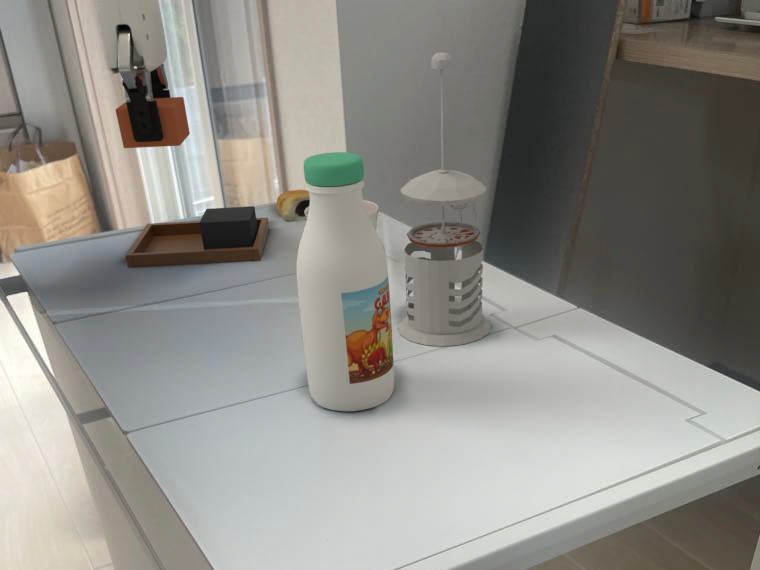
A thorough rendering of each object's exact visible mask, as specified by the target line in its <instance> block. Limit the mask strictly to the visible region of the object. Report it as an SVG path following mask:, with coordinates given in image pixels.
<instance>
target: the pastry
mask: <svg viewBox="0 0 760 570" xmlns="http://www.w3.org/2000/svg"><path fill="white" fill-rule="evenodd" d="M309 205H310V195H309V191H307V190H306V189H295V190H294V189H293V190H287V191H285V192H282V194H281V193H280V195H278V196H277V198H276V206H275V208H276V211H277V212H278V214H279V215H280V217H281V218H282V219H283V220H284V221H285V222H296V221H304V220H306V217H305V213H304V211H305V209H306V208H307V207H309Z"/></svg>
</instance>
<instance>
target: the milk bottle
mask: <svg viewBox="0 0 760 570" xmlns="http://www.w3.org/2000/svg"><path fill="white" fill-rule="evenodd" d="M364 167H365V166H364V160H363V158H362V156H361V155H359V154H357V153H352V152H343V151H333V152H332V151H331V152H322V153H317V154H314V155H310V156H308V157H306V158H305V159H304V160H303V175H304V180H305V185H306V186H305V190H307V191H309V195H310V205H309V212H308V218H307V220H306V221H305V222H306V223H305V226H304V229H303V231H302V235H301V238H300V241H299V246H298V251H297V256H296V284H297V285H296V286H297V298H298V303H299V304H298V305H299V306H298V307H299V313H300V314H299V315H300V324H301V332H302V333H301V334H302V341H303V350H304V358H305V366H306V375H307V383H308V389H309V390H308V392H309V395H310V397H311V398H312V400H313V402H314V403H316V404H317V405H318V406H320V407H322V408H324V409H328V410H331V411H336V412H358V411H364V410H368V409H372V408H375V407H378V406H379V405H382V404H384V403H385V402H386V401H388V400H389V399H390V398H391V396H392V394H393V392H394V390H395V370H394V368H395V367H394V349H393V347H394V346H393V328H392V312H391V310H392V309H391V292H390V282H389V281H390V280H389V269H388V263H387V256H386V253H385V250H384V247H383V244H382V241H381V239H380V237H379V235H378V233H377V230H376V231H375V229H374V227H373V225H372V223H371V221H370V218H369V216H368V214H367V211H366V208H365V205H364V201H363V200H364V197H363V188H364V187H365V182H364V176H365V170H364Z"/></svg>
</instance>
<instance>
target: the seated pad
mask: <svg viewBox="0 0 760 570" xmlns="http://www.w3.org/2000/svg"><path fill="white" fill-rule="evenodd" d="M256 218H257V215H256V207H255V206H254V205H251V206H249V205H248V206H233V207H213V208H205V211H204V212H203V215H202V216H201V219H200V220H199V221H200V222H199V225H200V230H201V236H202V242H203V247H204V250H205V249H224V248H243V247H253V245H254V242H255V239H256V236H257V232H258V228H257V220H256Z"/></svg>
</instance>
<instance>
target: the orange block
mask: <svg viewBox="0 0 760 570" xmlns="http://www.w3.org/2000/svg"><path fill="white" fill-rule="evenodd" d="M170 97H171V96H170ZM155 100H156V101H157V106H158V111H159V116H160V122H161V127H162V132H163V139H162V140H161V141H151V142H136V141H135V140H134V137H133V132H132V127H131V123H130V118H129V113H128V109H127V104H126V101H125V102H124V103H122V104H121V105H119V106H118V107H116V109H115V114H116V119H117V123H118V124H117V125H118V128H119V134H120V138H121V142H122V145H123V149H138V148H139V149H140V148H159V147H180V146H181V145H182V144H183V143H184V142H185V140H186V139H187V138H188V137H189V135H190V134H191V132H190V127H189V121H188V115H187V109H186V104H185V99H184V97H183V96H174V97H173V96H172V97H171V98H153V101H155Z"/></svg>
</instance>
